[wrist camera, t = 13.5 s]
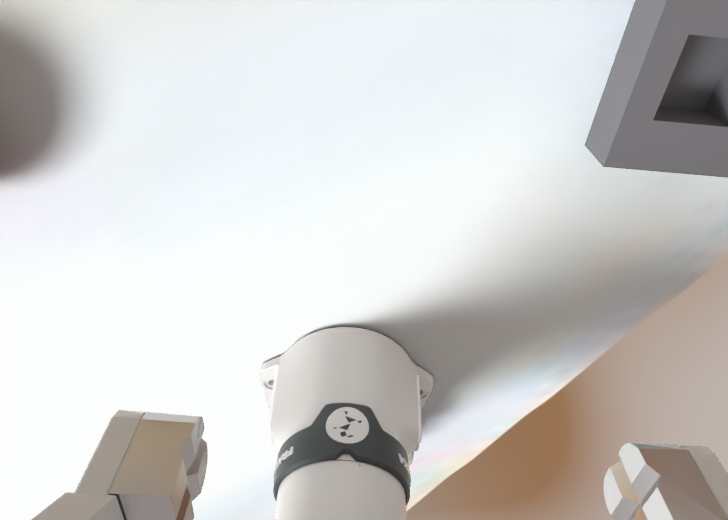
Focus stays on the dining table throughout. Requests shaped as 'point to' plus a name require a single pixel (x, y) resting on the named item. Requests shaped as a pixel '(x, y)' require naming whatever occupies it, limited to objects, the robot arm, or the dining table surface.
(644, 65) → the power strip
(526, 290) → the dining table surface
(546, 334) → the dining table surface
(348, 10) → the dining table surface
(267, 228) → the dining table surface
